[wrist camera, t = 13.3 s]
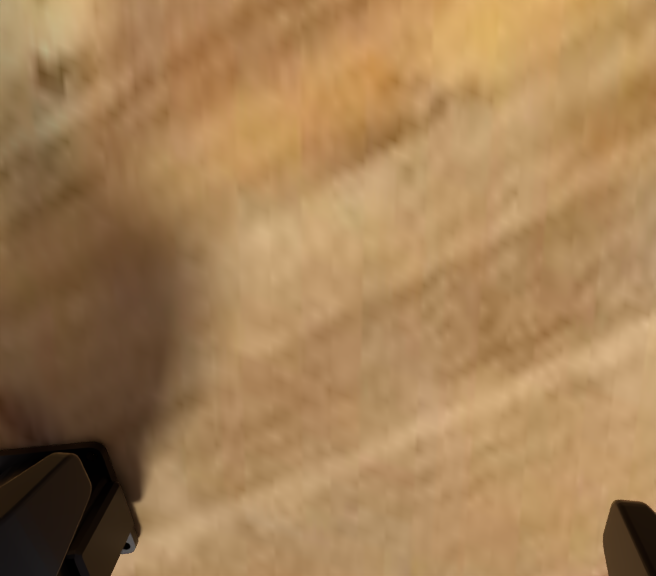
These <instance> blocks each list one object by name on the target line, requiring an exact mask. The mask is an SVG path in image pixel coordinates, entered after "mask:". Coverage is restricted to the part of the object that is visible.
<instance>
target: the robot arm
mask: <svg viewBox="0 0 656 576" xmlns="http://www.w3.org/2000/svg"><path fill="white" fill-rule="evenodd" d="M91 452H94V453H95V454H96V455H94V454H92V453H91ZM137 544H138V537H137V534H136V531H135V528H134V521H133V518H132V516H131V513H130V510H129V507H128V505H127V502H126V499H125V496H124V493H123V491H122V488H121V486H120V484H119V483H118V481H117V478H116V476H115V473H114V470H113V467H112V464H111V462H110V459H109V456H108V453H107V451H106V448H105V447H104V446H103V445H102V444H101V443H98V442H84V443H74V444H63V445H53V446H43V447H32V448H22V449H12V450H2V451H0V576H111V573H112V571H113V569H114V567H115V565H116V563H117V560H118V558H119V556H120V554H128V553H132V552H133V551H134V550H135V548H136V546H137ZM603 548H604V554H605V559H606V564H607V569H608V575H609V576H656V513H655V512H654V511H653V510H652V509H651V508H650V507H649V506H648V505H647V504H645V503H643V502H640V501H629V500H615V501H614V502H613V503H612V505H611V508H610V512H609V515H608V519H607V522H606V526H605V530H604V534H603Z"/></svg>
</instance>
